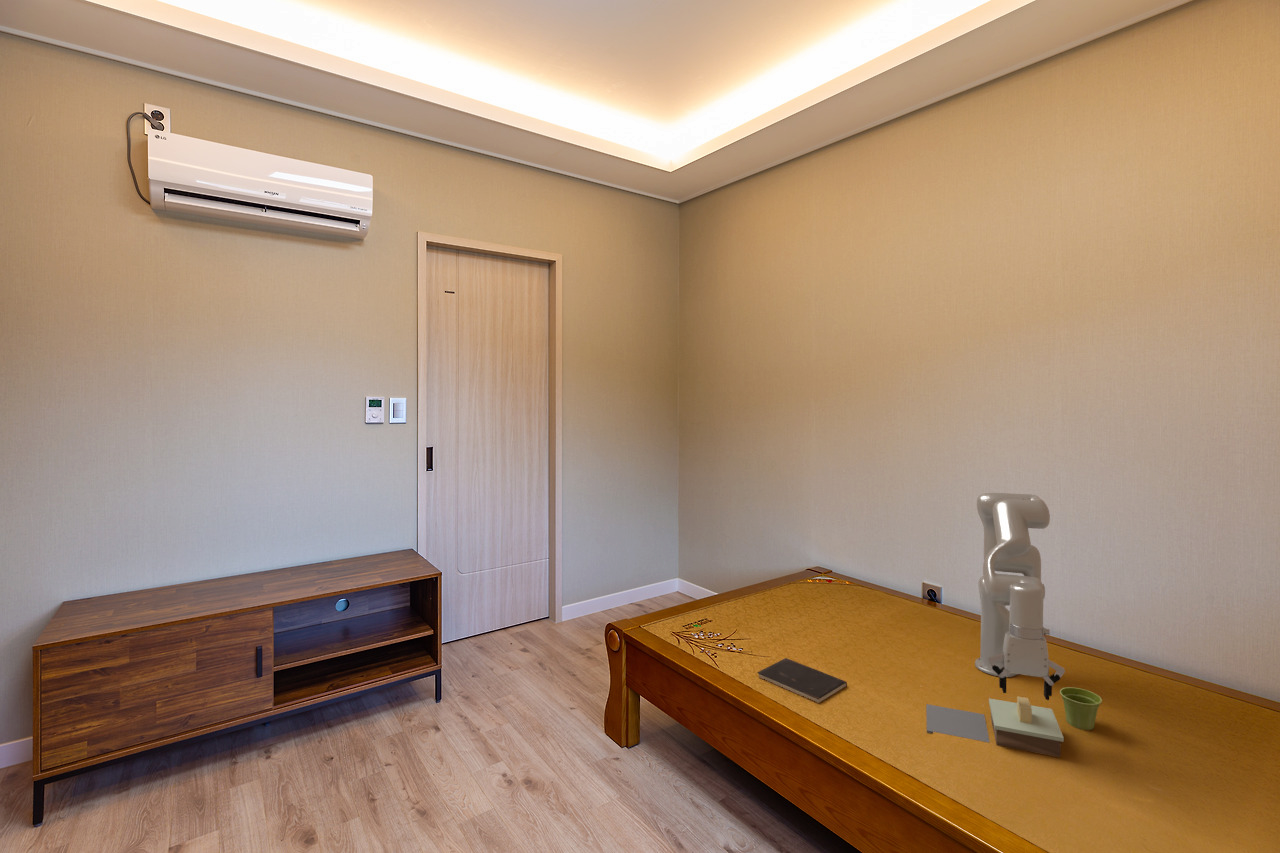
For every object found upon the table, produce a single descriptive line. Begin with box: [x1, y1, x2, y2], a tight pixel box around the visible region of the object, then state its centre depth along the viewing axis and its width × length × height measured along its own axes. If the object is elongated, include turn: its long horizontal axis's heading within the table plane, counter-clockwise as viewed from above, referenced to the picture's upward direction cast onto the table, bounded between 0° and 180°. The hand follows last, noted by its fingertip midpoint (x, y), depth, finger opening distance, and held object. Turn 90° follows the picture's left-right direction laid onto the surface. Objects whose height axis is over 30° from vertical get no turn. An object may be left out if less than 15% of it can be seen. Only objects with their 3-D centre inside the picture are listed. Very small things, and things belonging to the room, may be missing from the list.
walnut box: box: [990, 713, 1062, 758], centre depth 164 cm, size 14×14×5 cm
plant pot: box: [1059, 686, 1103, 731], centre depth 169 cm, size 9×9×9 cm
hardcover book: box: [756, 657, 848, 704], centre depth 198 cm, size 16×23×2 cm
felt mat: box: [925, 703, 990, 744], centre depth 171 cm, size 15×15×1 cm
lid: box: [988, 696, 1065, 743], centre depth 163 cm, size 15×15×5 cm
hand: (1024, 694), depth 162 cm, fingers open, 9 cm apart
